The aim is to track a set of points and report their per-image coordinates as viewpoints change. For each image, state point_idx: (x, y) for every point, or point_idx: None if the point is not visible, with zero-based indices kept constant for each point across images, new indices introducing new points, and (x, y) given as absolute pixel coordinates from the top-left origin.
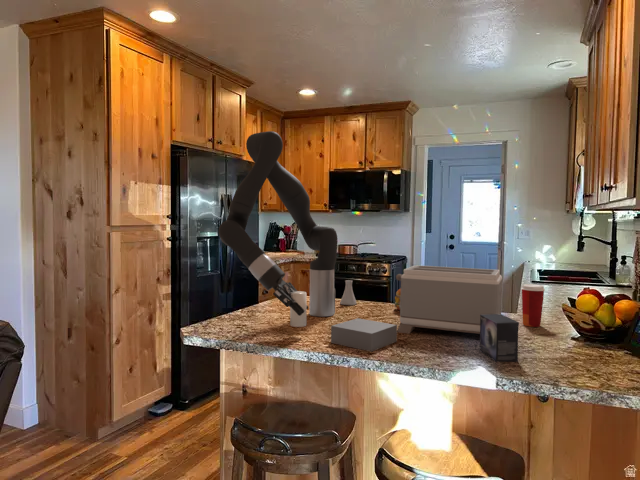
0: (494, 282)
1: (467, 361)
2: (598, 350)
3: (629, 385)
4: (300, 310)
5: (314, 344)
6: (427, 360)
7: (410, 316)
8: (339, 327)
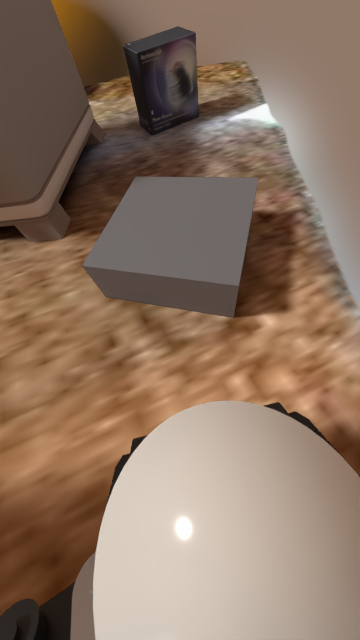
0: None
1: (216, 129)
2: (103, 90)
3: (216, 64)
4: (308, 420)
5: (282, 352)
6: (244, 154)
7: (44, 180)
8: (243, 256)
